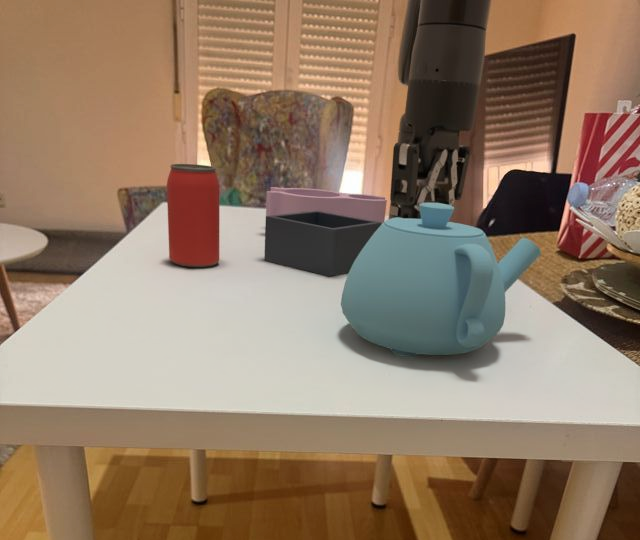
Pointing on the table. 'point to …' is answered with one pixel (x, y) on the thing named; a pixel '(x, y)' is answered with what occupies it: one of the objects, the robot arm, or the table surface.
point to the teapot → (431, 285)
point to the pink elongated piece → (325, 203)
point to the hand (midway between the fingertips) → (421, 240)
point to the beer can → (193, 215)
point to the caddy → (316, 240)
